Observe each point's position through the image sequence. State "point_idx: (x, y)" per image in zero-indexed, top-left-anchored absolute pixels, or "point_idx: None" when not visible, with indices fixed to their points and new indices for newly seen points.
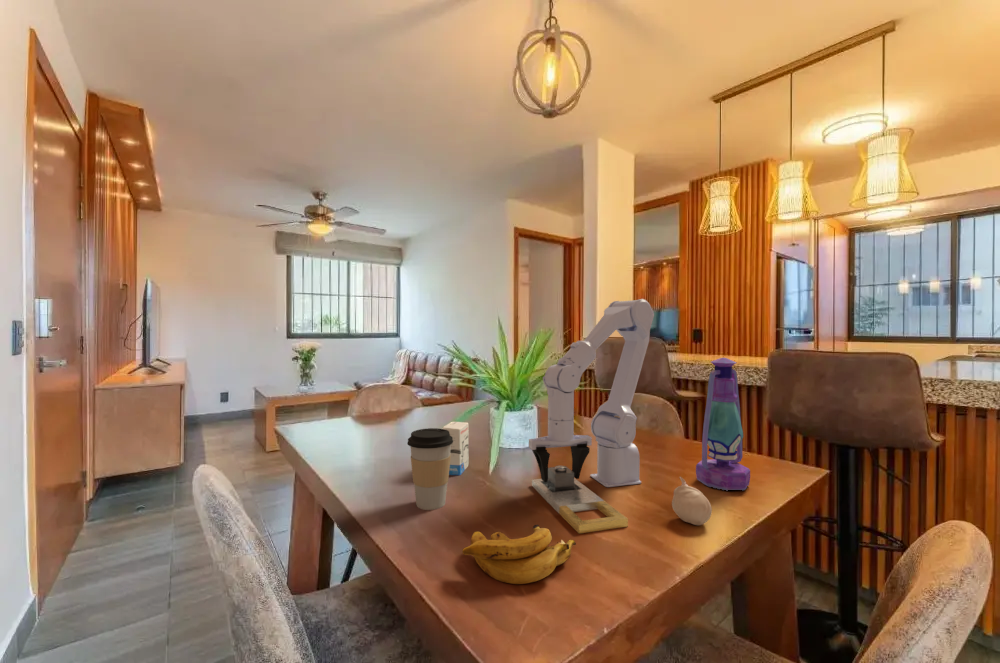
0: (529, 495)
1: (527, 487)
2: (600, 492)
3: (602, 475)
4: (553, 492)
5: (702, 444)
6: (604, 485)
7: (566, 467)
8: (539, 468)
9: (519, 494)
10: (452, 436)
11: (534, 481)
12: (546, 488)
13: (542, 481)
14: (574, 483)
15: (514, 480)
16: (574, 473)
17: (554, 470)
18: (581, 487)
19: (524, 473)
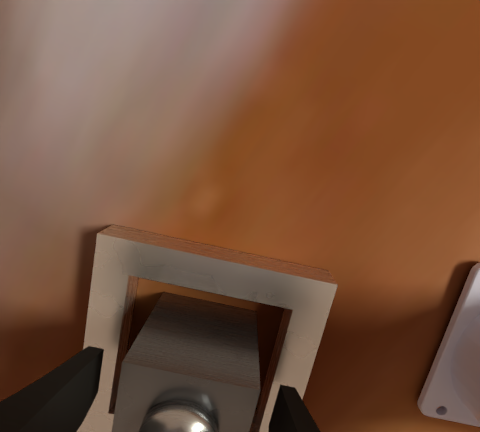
0: (51, 311)
1: (85, 227)
2: (353, 422)
3: (471, 390)
4: (112, 416)
5: None
6: (420, 397)
7: (246, 415)
8: (39, 381)
9: (12, 282)
10: None
11: (97, 263)
12: (107, 367)
13: (142, 277)
14: (274, 377)
15: (63, 103)
16: (276, 425)
17: (136, 423)
18: (268, 428)
19: (173, 20)
